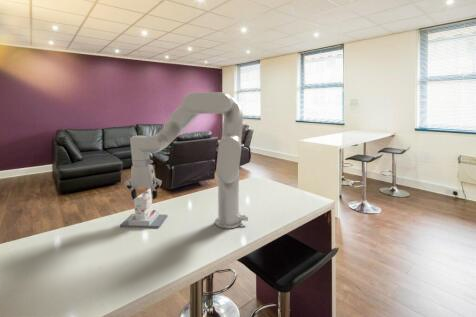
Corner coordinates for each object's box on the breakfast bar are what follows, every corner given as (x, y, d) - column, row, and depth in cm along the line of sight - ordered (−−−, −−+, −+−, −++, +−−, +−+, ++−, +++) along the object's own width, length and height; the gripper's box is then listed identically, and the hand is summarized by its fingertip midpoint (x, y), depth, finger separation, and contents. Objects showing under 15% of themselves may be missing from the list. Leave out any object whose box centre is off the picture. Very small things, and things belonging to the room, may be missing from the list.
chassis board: (167, 216, 136) (167, 209, 136) (158, 228, 124) (158, 220, 123) (132, 215, 137) (131, 209, 136) (119, 227, 124) (119, 219, 124)
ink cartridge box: (143, 215, 135) (141, 187, 132) (153, 216, 134) (151, 187, 131) (135, 223, 126) (132, 192, 123) (145, 223, 126) (143, 193, 123)
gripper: (162, 160, 128) (165, 195, 131) (126, 161, 129) (130, 195, 132) (157, 164, 121) (160, 201, 124) (118, 164, 121) (123, 201, 125)
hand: (144, 198), depth 128 cm, fingers open, 9 cm apart
